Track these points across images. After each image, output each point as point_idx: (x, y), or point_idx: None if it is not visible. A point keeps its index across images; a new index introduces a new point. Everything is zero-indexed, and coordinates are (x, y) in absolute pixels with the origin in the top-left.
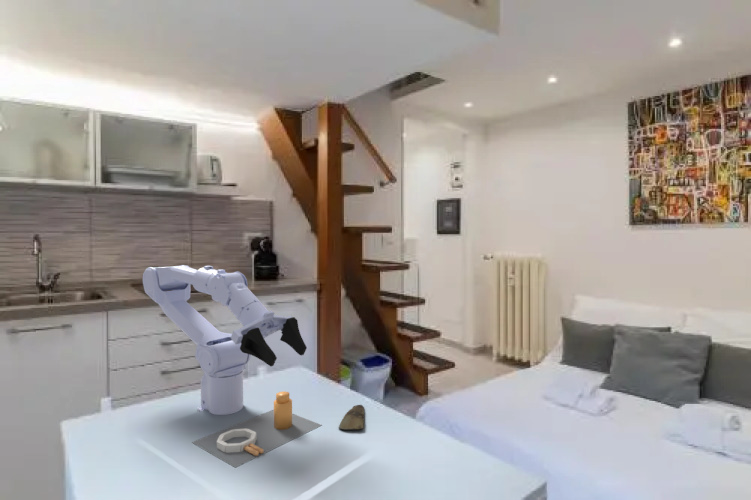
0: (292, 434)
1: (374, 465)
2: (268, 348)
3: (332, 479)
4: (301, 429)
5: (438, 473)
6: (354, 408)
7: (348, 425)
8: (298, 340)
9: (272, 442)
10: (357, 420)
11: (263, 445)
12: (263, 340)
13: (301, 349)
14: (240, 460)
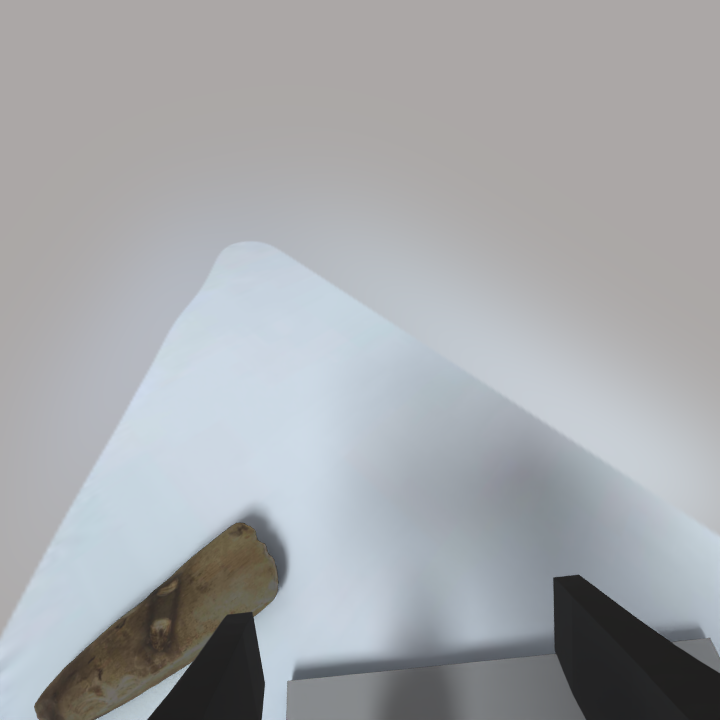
0: (424, 706)
1: (354, 407)
2: (628, 628)
3: (466, 425)
4: (370, 718)
5: (293, 322)
6: (109, 667)
7: (254, 563)
8: (225, 690)
9: (524, 708)
10: (210, 561)
11: (566, 714)
12: (694, 703)
13: (252, 661)
14: None
